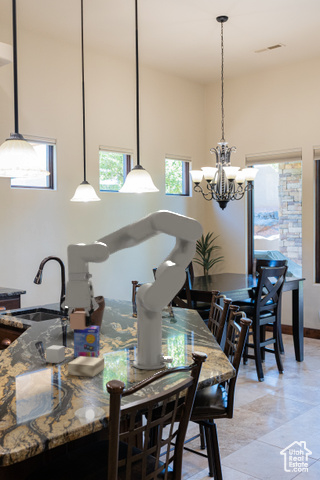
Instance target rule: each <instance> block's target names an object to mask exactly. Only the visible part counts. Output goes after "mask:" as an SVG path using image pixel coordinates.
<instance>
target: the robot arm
mask: <svg viewBox="0 0 320 480" xmlns="http://www.w3.org/2000/svg"><path fill="white" fill-rule="evenodd" d="M160 234H165V235H168V236H171V237H174V238H175V244H174V247H173V249H172V250H171V251H170V252H169V254H168V255H167V256H166V258H165V259H164V260H163V261H162V262H161V263H160V264H159V266H158V267H157V269H156V270H155V273H154V275H155V280H154V281H153V283H151V282H147V283H144V284H141V285H140V286H139V287H138V288H137V290H136V293H135V294H136V295H135V303H136V318H137V319H136V320H137V321H136V340H137V341H136V349H137V350H136V351H137V352H136V355H137V357H136V360H134V361H133V363H132V366H133V367H134V368H136V369H140V370H149V371H150V370H151V371H152V370H159V369H162V368H165V367H166V365H167V364H172V363H173V357H171V356H166V355H165V353H164V352H162V351H163V344H162V343H163V340H162V339H163V336H162V334H163V316H162V313H163V312H162V311H163V310H164V309H165V308H166V307H167V306H168V305H169V304H170V302H172V300H173V299H174V298H175V296H176V295H177V294H178V293H179V292H180V290H181V289H182V288H183V286H184V284H185V283H186V279H187V273H186V269H187V267H188V266H189V265H190V263H191V262H192V260H193V259H194V258H195V255H196V252H197V241H198V240H200V239H201V238H202V236H203V234H204V227H203V225H202V224H201V222H200V221H198V220H197V219H196V218H195V219H194V218H192V217H188V216H185V215H182V214H179V213H175V212H172V211H169V210H165V209H162V210H157V211H156V210H155V211H154V212H151V213H149V214H147V215H144V216H143V217H141V218H139V219H137V220H135V221H133V222H132V223H131V222H130V223H129V224H127V225H125V226H122V227H121V228H119V229H117V230H115V231H113V232H111V233H109V234H107V235H105V236H103V237H100V238H99V239H97V240H95V241H92V242H90V243H87V244H86V243H71V244H68V246H67V249H66V254H67V277H68V278H67V279H68V280H67V281H66V284H65V294H64V295H65V297H64V298H65V299H64V300H63V301H62V303H61V305H60V307H61V308H62V309H63V310H64V312H65V313H67V315H68V319H69V322H68V323H69V324H70V314H71V313H74V311H75V308H84V310H85V313H86V316H85V326H86V327H89V326H90V325H91V315H92V314H93V312H94V311H95V310H96V309H97V308H98V307H99V305H98V304H97V302H96V301H95V300H94V297H95V292H94V285H93V282H92V280H91V278H93V274H92V273H90V271H89V270H90V269H89V268H90V267H89V263H96V264H102V263H105V262H106V261H107V260H108V259H109V257H110V256H111V255H113V254H115V253H117V252H119V251H122V250H124V249H130V248H134V247H136V246H138V245H140V244H143V243H144V242H146V241H148V240H150V239H153V238H154V237H157V236H158V235H160ZM91 306H93V308H92V309H91Z"/></svg>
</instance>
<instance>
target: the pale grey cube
mask: <svg viewBox="0 0 320 480" xmlns="http://www.w3.org/2000/svg"><path fill="white" fill-rule="evenodd" d="M65 359H66V346H64V345H54V344H52V345H51V346H49V347H48V346H47V347H46V348H45V362H46V363H53V364H60V363H61V362H63V361H65Z"/></svg>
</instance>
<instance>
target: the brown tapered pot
mask: <svg viewBox="0 0 320 480" xmlns="http://www.w3.org/2000/svg"><path fill="white" fill-rule="evenodd" d="M94 300H95V301H96V302H97V304H98V305H99V307H98V308H97V309H96V310H95V311H94V312H93V314H92V315H91V326H99V332H101V328H102V322H103V317H104V312H105V308H106V302H105V297H104V296H103V295H97V296H94ZM92 308H93V306H91V309H92ZM76 311H83V312H85V310H84V308H75V311H74V312H76Z"/></svg>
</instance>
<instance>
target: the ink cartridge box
mask: <svg viewBox="0 0 320 480" xmlns="http://www.w3.org/2000/svg"><path fill="white" fill-rule="evenodd" d="M100 346H101V345H100V331H99V326H91V325H90V327H88V328H86V329H84V330H83V329H73V358H78V357H80V356H82V357H95V358H99V357H100V354H101V352H100V351H101V350H100V348H101V347H100Z"/></svg>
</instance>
